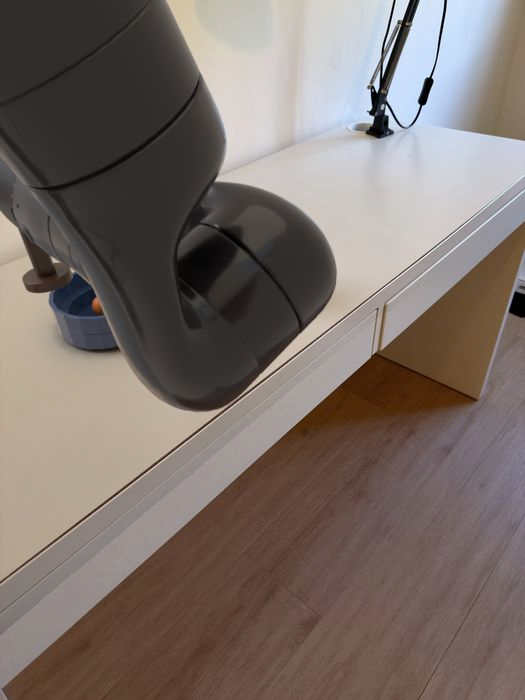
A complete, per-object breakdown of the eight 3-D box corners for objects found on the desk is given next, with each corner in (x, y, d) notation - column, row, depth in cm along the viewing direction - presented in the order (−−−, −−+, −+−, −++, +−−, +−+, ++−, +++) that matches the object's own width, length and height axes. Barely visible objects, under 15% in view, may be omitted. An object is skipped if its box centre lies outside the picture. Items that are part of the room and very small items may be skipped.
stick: (54, 295, 48) (-7, 133, 40) (15, 291, 49) (-51, 134, 41) (82, 272, 51) (31, 118, 43) (45, 270, 52) (-11, 120, 44)
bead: (94, 317, 76) (101, 321, 73) (86, 298, 74) (92, 302, 72) (113, 308, 77) (120, 312, 74) (105, 289, 75) (112, 293, 73)
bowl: (129, 361, 68) (120, 327, 64) (38, 341, 72) (25, 308, 68) (179, 302, 78) (173, 269, 74) (97, 287, 82) (88, 256, 79)
